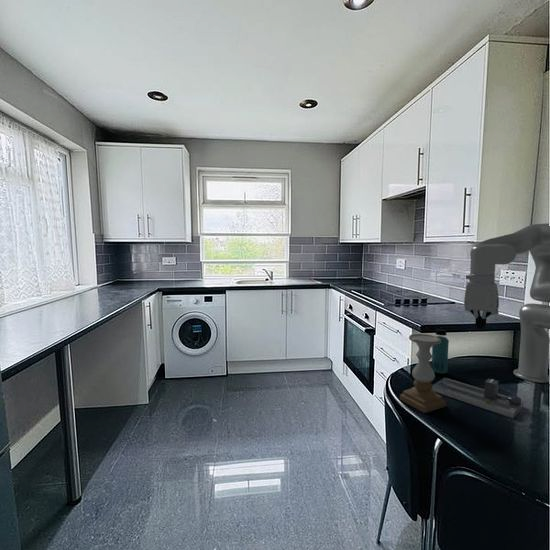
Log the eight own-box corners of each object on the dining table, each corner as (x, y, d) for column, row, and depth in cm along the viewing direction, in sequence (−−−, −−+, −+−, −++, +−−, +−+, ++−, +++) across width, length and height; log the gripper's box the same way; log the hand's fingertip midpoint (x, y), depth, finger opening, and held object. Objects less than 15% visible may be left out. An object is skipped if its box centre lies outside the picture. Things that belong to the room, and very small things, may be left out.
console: (444, 382, 129) (444, 373, 128) (523, 406, 109) (523, 397, 108) (431, 390, 121) (431, 382, 121) (513, 418, 101) (514, 408, 101)
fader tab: (487, 394, 113) (488, 378, 113) (497, 397, 111) (498, 380, 110) (483, 397, 111) (484, 381, 110) (493, 401, 108) (494, 383, 108)
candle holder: (424, 413, 104) (427, 344, 102) (399, 399, 114) (401, 335, 112) (446, 406, 109) (449, 339, 107) (420, 393, 119) (422, 332, 117)
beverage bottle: (443, 371, 140) (445, 327, 138) (450, 377, 133) (452, 331, 131) (428, 370, 140) (430, 327, 139) (434, 376, 134) (436, 331, 132)
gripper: (455, 279, 117) (454, 326, 119) (503, 281, 106) (501, 334, 108) (463, 277, 122) (462, 322, 124) (510, 279, 110) (508, 330, 112)
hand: (480, 328), depth 116 cm, fingers closed
